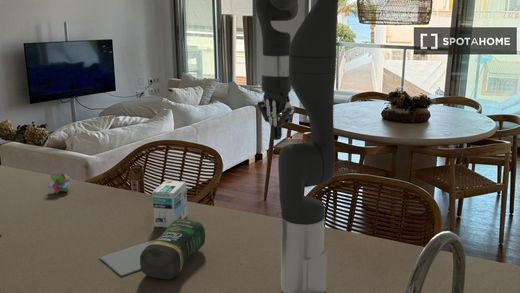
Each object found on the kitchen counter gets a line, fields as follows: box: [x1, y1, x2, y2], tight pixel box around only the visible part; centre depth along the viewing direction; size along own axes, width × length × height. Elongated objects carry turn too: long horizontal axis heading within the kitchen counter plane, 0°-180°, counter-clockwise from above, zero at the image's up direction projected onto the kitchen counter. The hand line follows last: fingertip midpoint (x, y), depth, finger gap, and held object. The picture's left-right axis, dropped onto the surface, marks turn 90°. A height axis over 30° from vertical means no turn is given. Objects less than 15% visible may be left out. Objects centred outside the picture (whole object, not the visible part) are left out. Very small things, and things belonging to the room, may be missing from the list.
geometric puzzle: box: [47, 172, 72, 196], centre depth 172 cm, size 7×7×8 cm
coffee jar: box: [140, 218, 206, 280], centre depth 123 cm, size 10×8×19 cm
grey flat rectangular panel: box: [99, 237, 160, 278], centre depth 128 cm, size 12×18×1 cm, turn 131°
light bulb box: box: [151, 179, 189, 228], centre depth 148 cm, size 11×7×11 cm, turn 168°
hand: (276, 139), depth 133 cm, fingers closed
